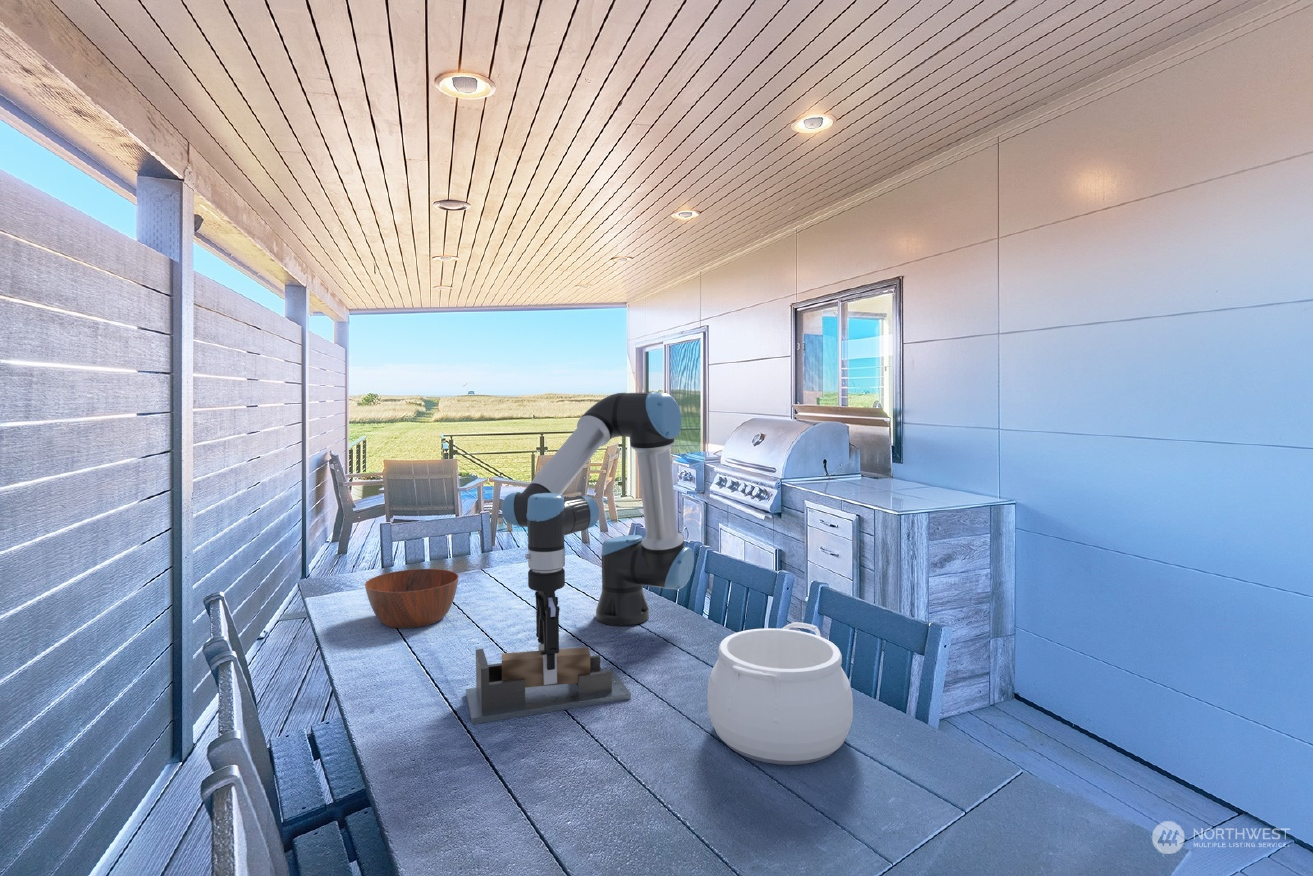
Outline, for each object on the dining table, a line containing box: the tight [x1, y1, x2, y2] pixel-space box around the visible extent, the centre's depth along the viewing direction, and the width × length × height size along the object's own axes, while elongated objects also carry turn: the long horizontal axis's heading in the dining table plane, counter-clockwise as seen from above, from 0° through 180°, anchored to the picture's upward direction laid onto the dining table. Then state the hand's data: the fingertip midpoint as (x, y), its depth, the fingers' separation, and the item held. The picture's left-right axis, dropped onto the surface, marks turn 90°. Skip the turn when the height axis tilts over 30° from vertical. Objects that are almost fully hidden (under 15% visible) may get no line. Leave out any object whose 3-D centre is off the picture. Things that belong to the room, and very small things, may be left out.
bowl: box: [364, 568, 460, 629], centre depth 192 cm, size 25×25×11 cm
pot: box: [706, 621, 854, 766], centre depth 125 cm, size 29×26×17 cm
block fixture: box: [465, 648, 632, 725], centre depth 142 cm, size 32×14×10 cm, turn 110°
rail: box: [501, 646, 591, 688], centre depth 142 cm, size 18×4×6 cm, turn 103°
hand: (547, 678), depth 142 cm, fingers closed on rail, 4 cm apart
